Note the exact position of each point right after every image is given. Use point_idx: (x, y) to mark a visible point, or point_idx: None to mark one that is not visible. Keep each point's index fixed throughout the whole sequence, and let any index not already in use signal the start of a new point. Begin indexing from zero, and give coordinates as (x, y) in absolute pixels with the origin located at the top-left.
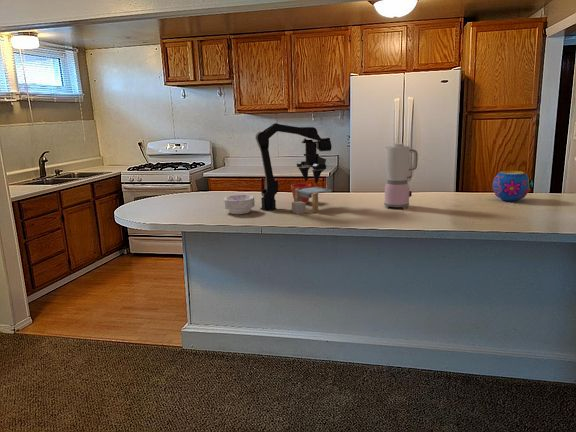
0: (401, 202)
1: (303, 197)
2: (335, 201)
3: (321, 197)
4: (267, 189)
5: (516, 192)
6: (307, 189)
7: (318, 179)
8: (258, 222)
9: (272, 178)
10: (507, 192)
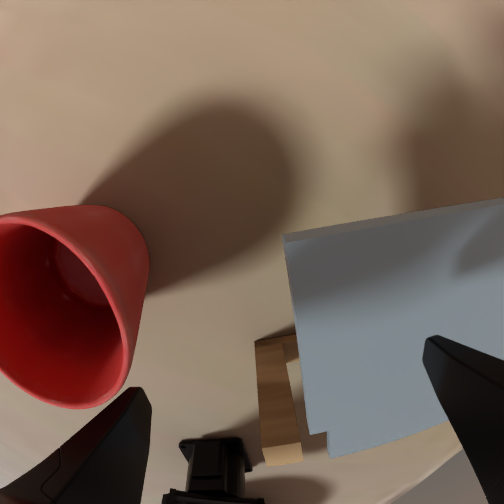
0: None
1: (145, 290)
2: (201, 4)
3: (20, 59)
4: None
5: None
6: (377, 404)
7: (479, 354)
8: (392, 485)
9: None
10: None
